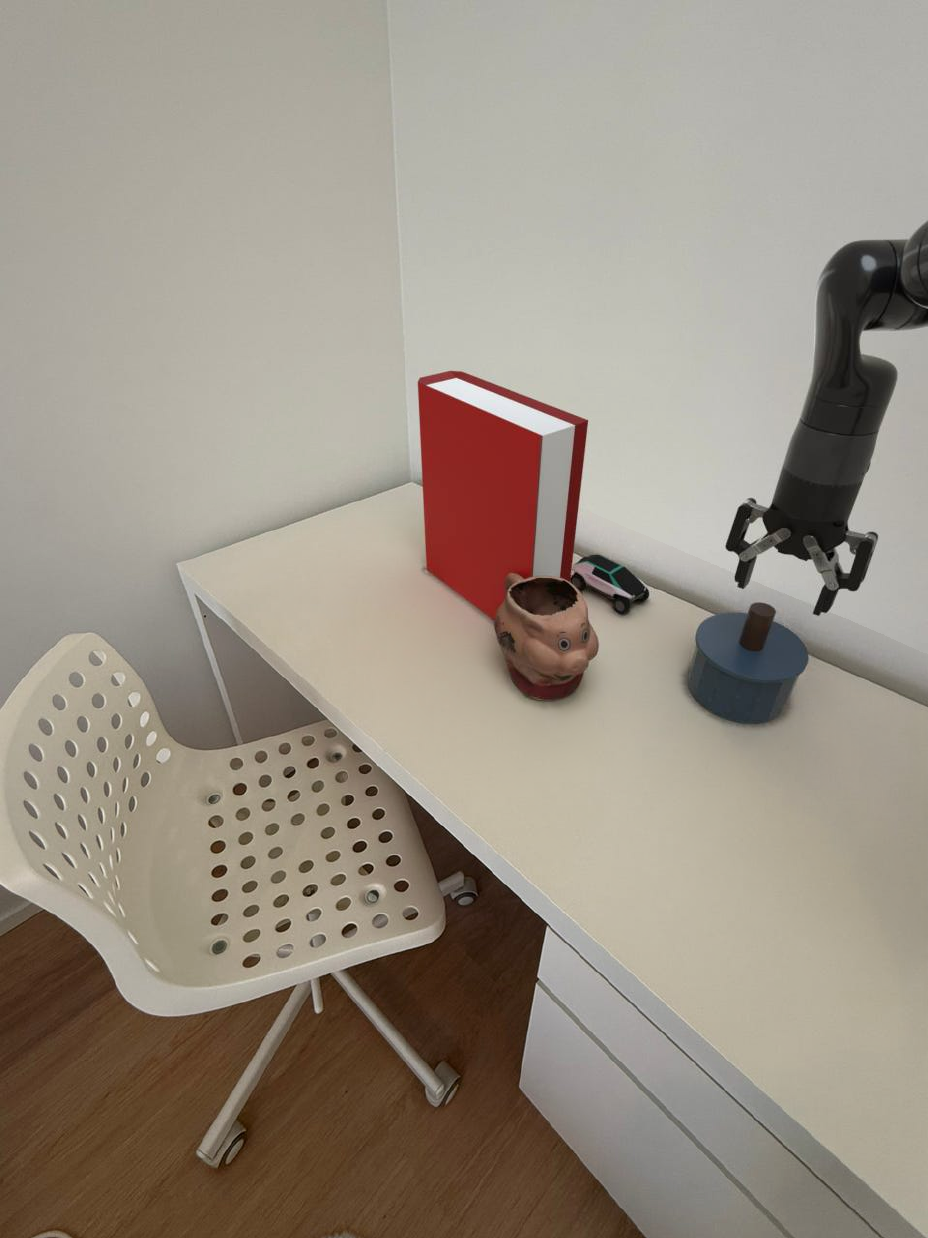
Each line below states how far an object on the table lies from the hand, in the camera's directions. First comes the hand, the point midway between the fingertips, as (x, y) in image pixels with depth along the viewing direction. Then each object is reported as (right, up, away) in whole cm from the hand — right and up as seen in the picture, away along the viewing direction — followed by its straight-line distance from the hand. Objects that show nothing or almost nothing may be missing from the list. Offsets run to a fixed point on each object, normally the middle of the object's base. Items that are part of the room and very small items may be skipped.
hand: (779, 598), depth 75 cm
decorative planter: (-26, -10, +16) cm, 32 cm away
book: (-33, +2, +31) cm, 45 cm away
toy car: (-13, +2, +31) cm, 34 cm away
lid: (0, -6, +8) cm, 10 cm away
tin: (0, -12, +13) cm, 17 cm away
